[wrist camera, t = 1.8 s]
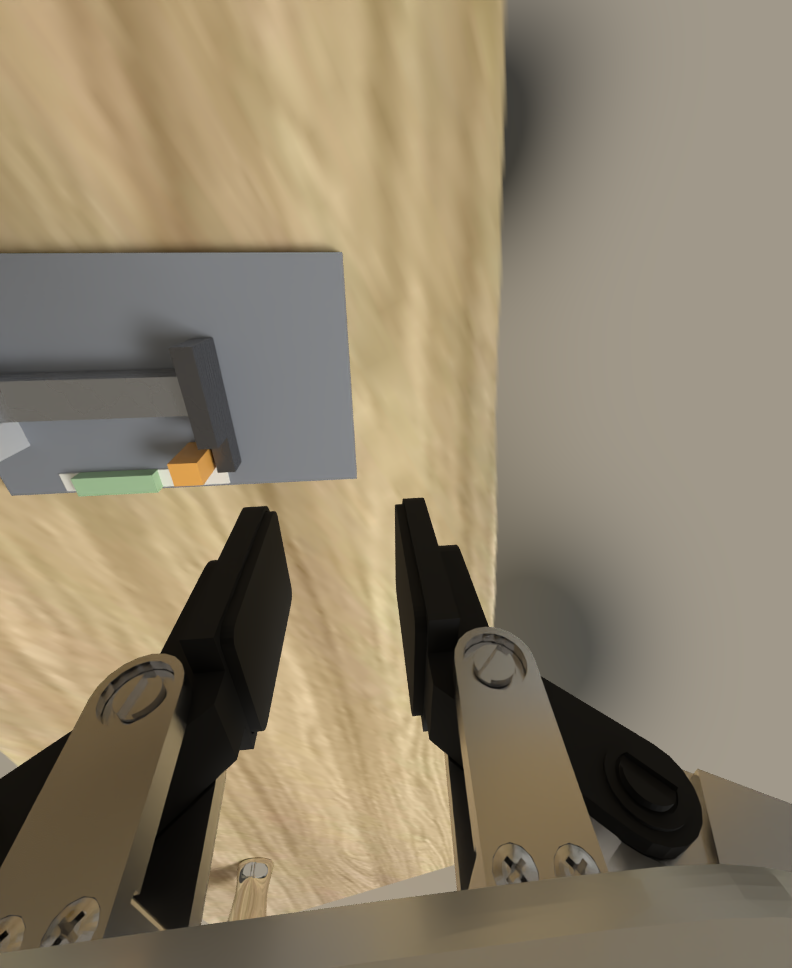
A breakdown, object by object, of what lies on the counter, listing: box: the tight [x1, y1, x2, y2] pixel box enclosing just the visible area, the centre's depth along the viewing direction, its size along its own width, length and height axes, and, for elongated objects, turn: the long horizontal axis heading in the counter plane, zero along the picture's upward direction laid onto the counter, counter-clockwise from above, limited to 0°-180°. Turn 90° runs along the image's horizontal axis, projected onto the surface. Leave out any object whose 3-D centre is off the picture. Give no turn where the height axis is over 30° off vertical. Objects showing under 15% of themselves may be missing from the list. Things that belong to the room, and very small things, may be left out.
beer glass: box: [227, 858, 274, 922], centre depth 60 cm, size 7×7×15 cm
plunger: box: [0, 337, 242, 473], centre depth 23 cm, size 9×15×4 cm, turn 90°
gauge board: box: [0, 252, 357, 496], centre depth 23 cm, size 15×25×5 cm, turn 90°
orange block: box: [167, 442, 216, 487], centre depth 25 cm, size 2×2×4 cm
